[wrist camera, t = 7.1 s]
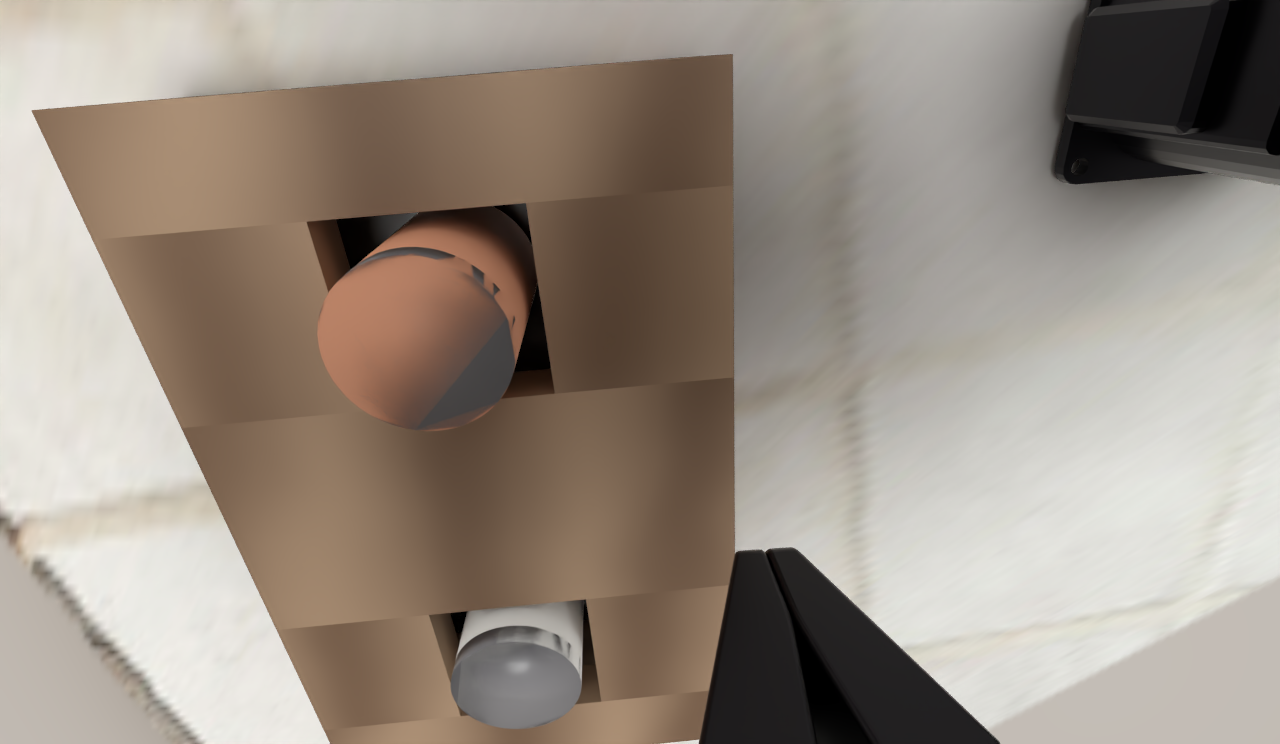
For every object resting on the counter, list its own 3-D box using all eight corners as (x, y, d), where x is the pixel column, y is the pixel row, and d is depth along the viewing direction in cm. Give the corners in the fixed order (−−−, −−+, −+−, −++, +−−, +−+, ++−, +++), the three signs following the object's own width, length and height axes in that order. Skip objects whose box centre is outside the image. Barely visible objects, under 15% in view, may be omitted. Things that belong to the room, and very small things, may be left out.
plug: (578, 514, 23) (573, 635, 18) (590, 592, 25) (587, 722, 20) (471, 525, 23) (437, 649, 18) (490, 602, 25) (464, 734, 20)
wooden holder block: (697, 56, 17) (732, 54, 13) (712, 624, 27) (735, 735, 23) (182, 97, 17) (31, 109, 12) (388, 656, 27) (345, 776, 22)
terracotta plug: (526, 193, 17) (497, 246, 12) (546, 327, 19) (528, 422, 14) (379, 205, 17) (290, 264, 12) (414, 340, 19) (348, 439, 14)
